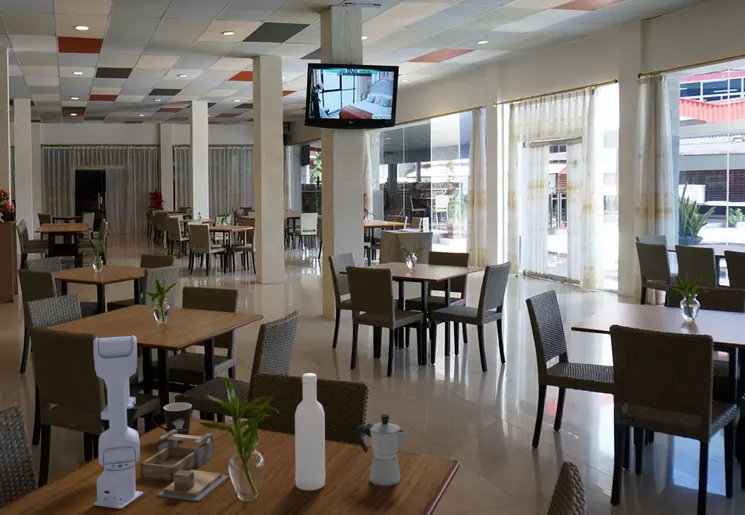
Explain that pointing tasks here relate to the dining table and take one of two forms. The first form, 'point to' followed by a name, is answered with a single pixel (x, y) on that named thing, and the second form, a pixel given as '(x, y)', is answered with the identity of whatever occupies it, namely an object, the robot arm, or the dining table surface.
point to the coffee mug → (176, 417)
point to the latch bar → (187, 438)
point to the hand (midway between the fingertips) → (119, 437)
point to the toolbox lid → (191, 482)
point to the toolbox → (176, 458)
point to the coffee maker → (383, 450)
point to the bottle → (310, 438)
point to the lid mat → (197, 496)
